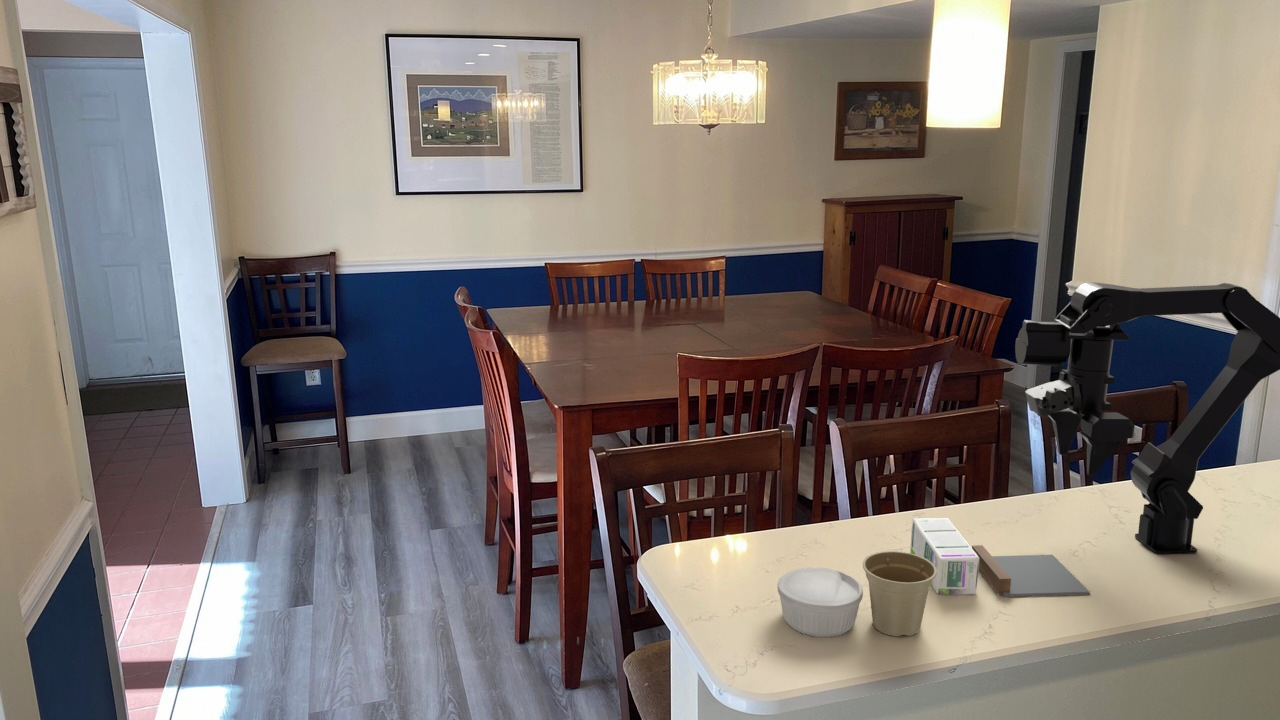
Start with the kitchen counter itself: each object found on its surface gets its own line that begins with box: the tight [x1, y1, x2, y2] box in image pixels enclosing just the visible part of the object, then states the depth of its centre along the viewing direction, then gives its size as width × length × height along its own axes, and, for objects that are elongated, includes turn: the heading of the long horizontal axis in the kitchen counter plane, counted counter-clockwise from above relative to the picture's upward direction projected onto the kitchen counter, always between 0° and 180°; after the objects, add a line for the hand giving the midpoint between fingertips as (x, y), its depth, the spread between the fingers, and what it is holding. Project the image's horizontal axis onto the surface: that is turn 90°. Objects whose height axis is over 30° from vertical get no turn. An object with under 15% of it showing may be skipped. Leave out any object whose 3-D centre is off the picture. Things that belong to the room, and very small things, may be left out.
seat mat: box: [991, 554, 1091, 598], centre depth 134 cm, size 12×12×1 cm
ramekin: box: [777, 567, 864, 638], centre depth 123 cm, size 11×11×5 cm
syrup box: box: [909, 517, 980, 596], centre depth 136 cm, size 6×6×14 cm
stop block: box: [971, 544, 1011, 596], centre depth 134 cm, size 2×11×2 cm, turn 0°
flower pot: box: [862, 550, 937, 637], centre depth 121 cm, size 9×9×9 cm
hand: (1076, 464), depth 142 cm, fingers open, 9 cm apart
